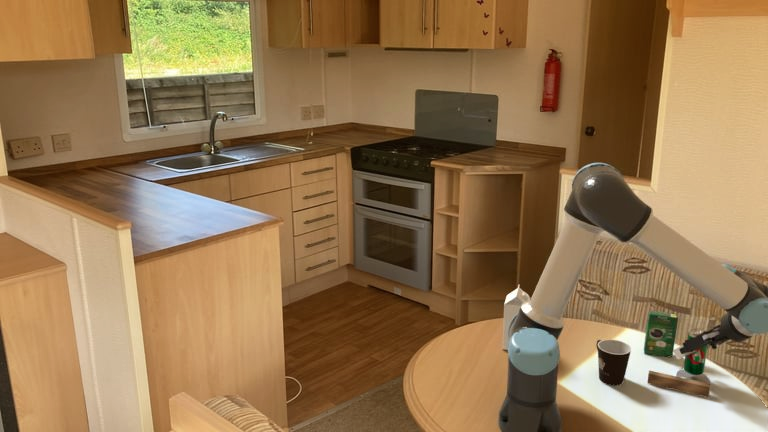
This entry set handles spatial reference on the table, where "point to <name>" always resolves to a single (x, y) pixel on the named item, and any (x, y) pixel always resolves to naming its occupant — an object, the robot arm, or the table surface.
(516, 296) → the milk carton
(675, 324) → the coffee box
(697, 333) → the soda can
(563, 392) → the table surface
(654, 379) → the rail
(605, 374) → the coffee mug
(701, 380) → the grey domed button
